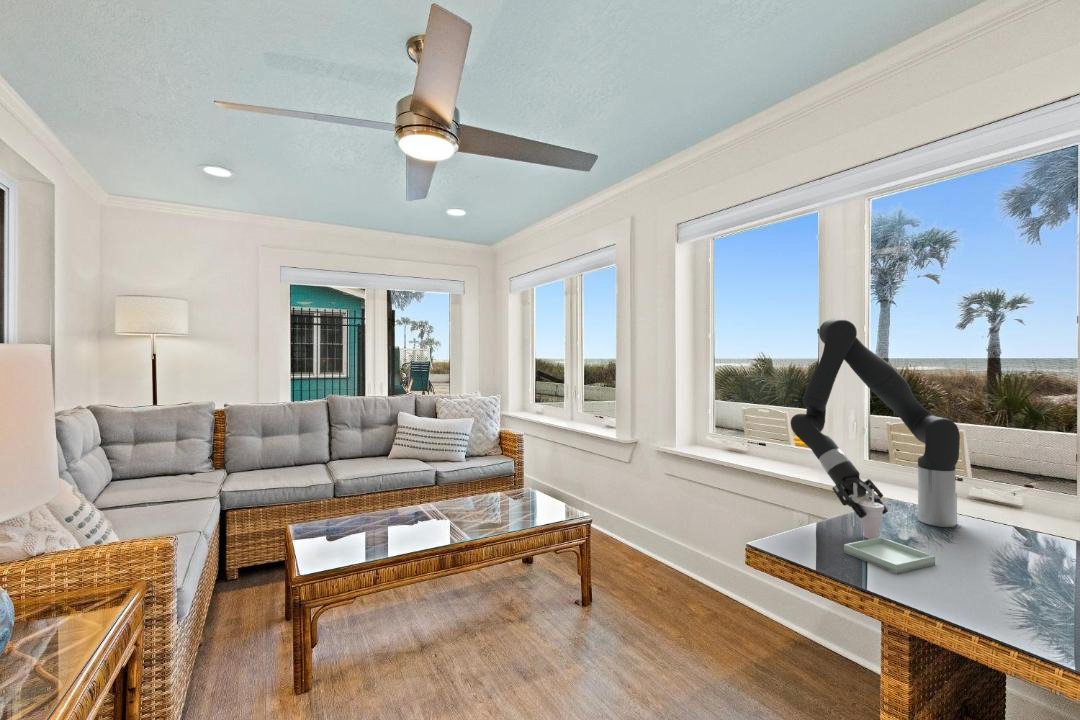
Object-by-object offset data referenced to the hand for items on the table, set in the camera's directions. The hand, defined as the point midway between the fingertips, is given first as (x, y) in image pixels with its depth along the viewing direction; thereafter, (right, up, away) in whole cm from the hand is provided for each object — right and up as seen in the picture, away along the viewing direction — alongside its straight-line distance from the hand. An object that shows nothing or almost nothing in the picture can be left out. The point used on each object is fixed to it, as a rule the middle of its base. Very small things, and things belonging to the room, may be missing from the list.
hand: (874, 514), depth 143 cm
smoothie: (0, -7, +1) cm, 7 cm away
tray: (-6, -7, -14) cm, 16 cm away
